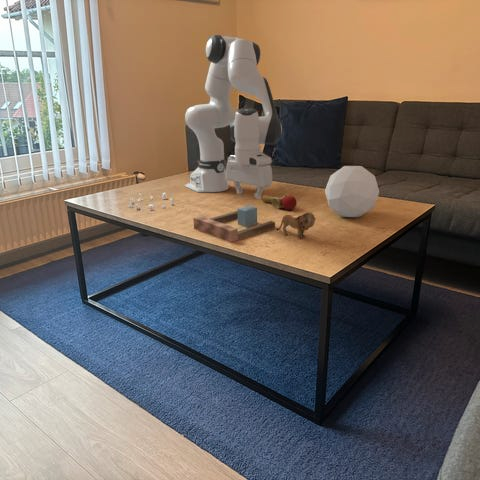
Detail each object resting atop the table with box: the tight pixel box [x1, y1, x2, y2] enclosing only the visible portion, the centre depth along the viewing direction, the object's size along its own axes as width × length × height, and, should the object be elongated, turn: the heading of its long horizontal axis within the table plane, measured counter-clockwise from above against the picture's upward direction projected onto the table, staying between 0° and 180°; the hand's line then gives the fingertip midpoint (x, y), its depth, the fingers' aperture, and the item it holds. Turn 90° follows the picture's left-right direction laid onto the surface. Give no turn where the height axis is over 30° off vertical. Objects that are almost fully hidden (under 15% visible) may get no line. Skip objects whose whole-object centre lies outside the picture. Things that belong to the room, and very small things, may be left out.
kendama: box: [261, 193, 297, 211], centre depth 188 cm, size 8×6×18 cm
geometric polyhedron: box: [324, 165, 380, 218], centre depth 172 cm, size 19×20×20 cm
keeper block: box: [237, 205, 258, 228], centre depth 167 cm, size 4×6×6 cm, turn 133°
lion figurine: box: [275, 211, 317, 240], centre depth 154 cm, size 15×5×9 cm, turn 54°
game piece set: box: [128, 192, 175, 211], centre depth 195 cm, size 19×20×4 cm
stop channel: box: [193, 210, 276, 243], centre depth 163 cm, size 20×21×4 cm
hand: (248, 195), depth 164 cm, fingers open, 8 cm apart
